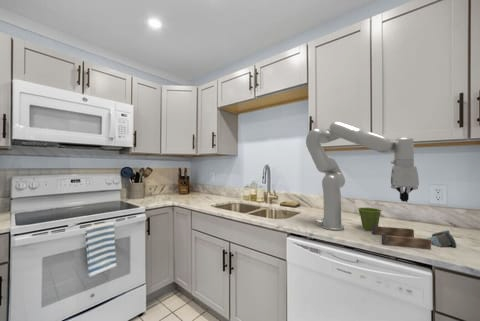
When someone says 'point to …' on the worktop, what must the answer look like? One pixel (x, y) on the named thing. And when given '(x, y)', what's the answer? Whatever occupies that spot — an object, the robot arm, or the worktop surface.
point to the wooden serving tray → (400, 237)
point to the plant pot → (369, 217)
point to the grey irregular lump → (442, 239)
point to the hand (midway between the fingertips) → (404, 201)
